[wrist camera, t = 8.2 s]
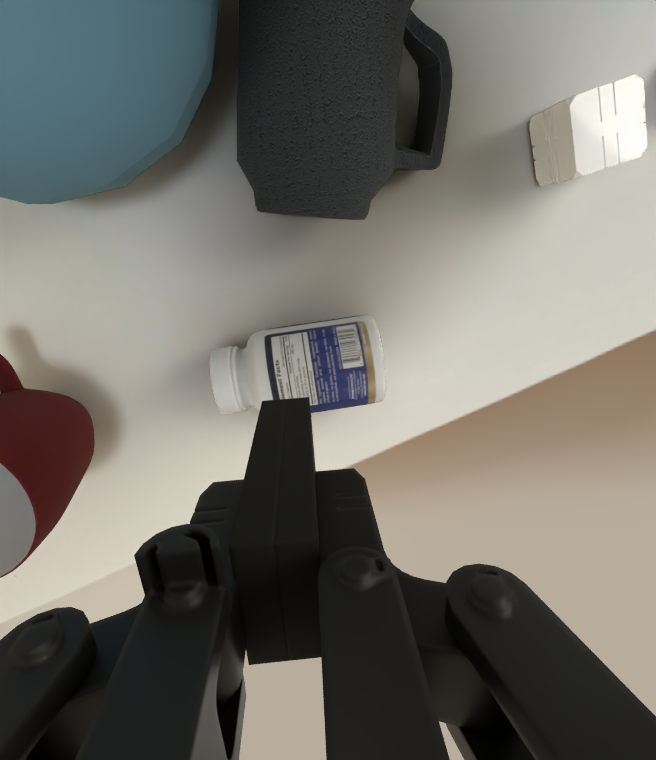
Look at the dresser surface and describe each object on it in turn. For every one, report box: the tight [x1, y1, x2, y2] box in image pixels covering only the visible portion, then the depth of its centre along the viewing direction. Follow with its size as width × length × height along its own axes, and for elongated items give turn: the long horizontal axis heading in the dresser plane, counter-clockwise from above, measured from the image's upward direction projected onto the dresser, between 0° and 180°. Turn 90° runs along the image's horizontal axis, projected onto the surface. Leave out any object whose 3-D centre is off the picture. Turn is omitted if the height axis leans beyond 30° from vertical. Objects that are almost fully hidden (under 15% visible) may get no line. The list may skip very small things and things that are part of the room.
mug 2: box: [237, 0, 452, 220], centre depth 20 cm, size 12×9×11 cm
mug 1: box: [0, 354, 94, 578], centre depth 23 cm, size 11×8×10 cm
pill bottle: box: [209, 315, 386, 414], centre depth 25 cm, size 5×5×10 cm
